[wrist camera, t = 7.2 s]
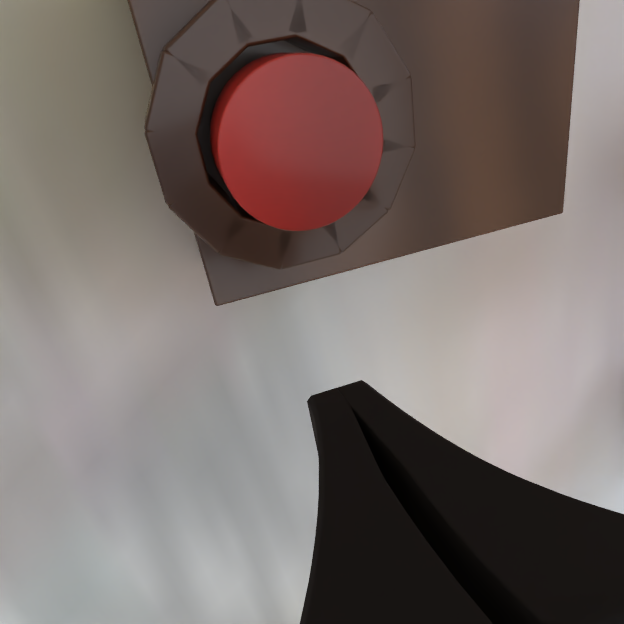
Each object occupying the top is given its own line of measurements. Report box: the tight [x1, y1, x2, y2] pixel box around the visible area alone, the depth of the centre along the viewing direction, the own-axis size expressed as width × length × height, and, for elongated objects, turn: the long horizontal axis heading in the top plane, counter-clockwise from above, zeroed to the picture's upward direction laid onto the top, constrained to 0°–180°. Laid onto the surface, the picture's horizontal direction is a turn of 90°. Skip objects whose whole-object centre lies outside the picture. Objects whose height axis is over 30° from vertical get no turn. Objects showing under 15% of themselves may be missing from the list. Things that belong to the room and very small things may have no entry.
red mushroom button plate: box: [128, 0, 580, 306], centre depth 16 cm, size 13×10×6 cm
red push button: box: [210, 53, 383, 231], centre depth 13 cm, size 4×4×2 cm
